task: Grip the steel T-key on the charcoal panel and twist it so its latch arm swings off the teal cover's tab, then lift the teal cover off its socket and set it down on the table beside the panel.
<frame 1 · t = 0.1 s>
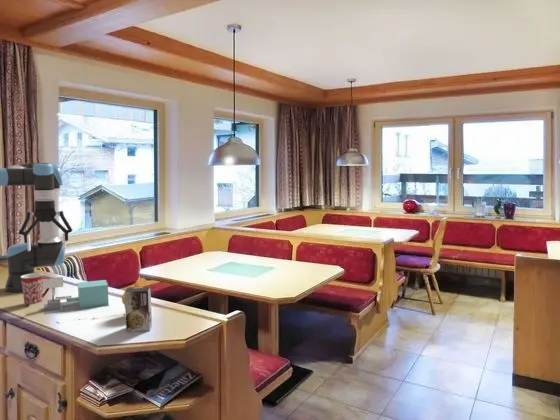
hand: (47, 249, 194), 28 cm above the table, tool pointing down, fingers open, 13 cm apart
cookie box: (139, 329, 178), on the table
key: (57, 288, 199), point 10 cm above the table, hinge at 0.0°
housing: (76, 307, 203), on the table
mug: (37, 303, 210), on the table
plant pot: (135, 316, 193), on the table
cover: (93, 303, 206), point 1 cm above the table, touching housing
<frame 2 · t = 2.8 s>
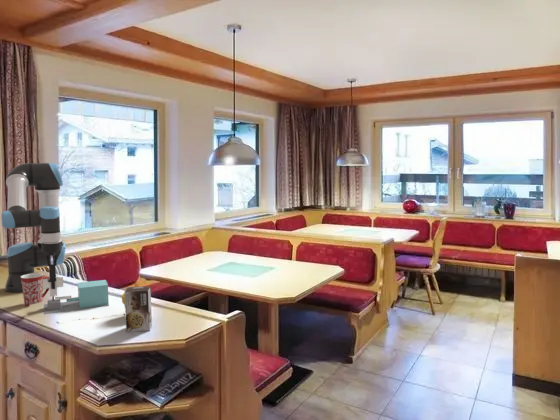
hand: (53, 295, 199), 7 cm above the table, tool pointing down, fingers closed on key, 2 cm apart
key: (57, 288, 199), point 10 cm above the table, hinge at 0.0°, touching gripper
everything else where it was.
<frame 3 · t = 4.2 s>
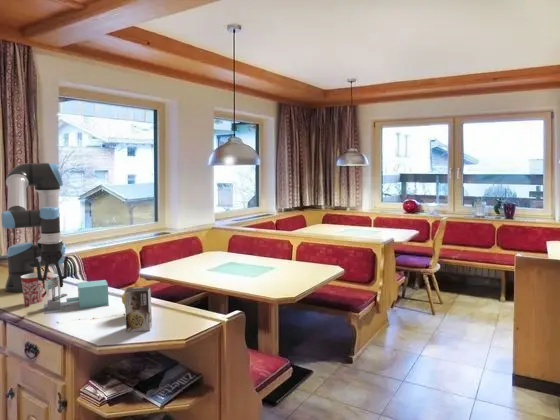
hand: (53, 294, 199), 7 cm above the table, tool pointing down, fingers closed on key, 4 cm apart
key: (55, 288, 200), point 10 cm above the table, hinge at 48.5°, touching gripper
everything else where it was.
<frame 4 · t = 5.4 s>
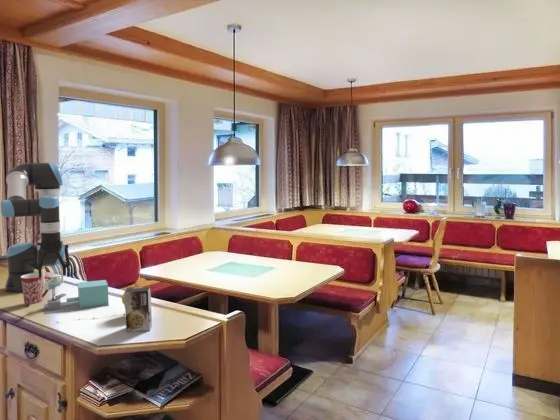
hand: (53, 283, 199), 12 cm above the table, tool pointing down, fingers open, 7 cm apart
key: (55, 288, 200), point 10 cm above the table, hinge at 53.4°
everything else where it was.
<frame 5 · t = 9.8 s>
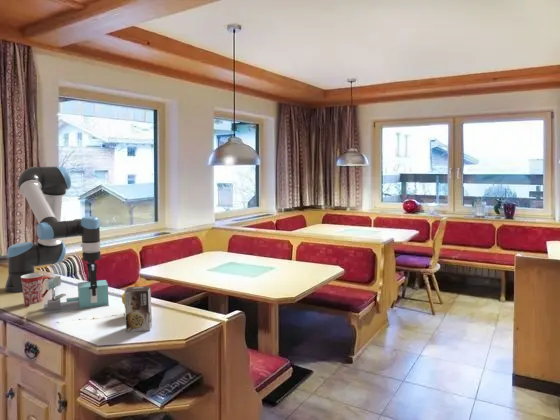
hand: (93, 299, 206), 3 cm above the table, tool pointing down, fingers closed on cover, 10 cm apart
key: (55, 288, 200), point 10 cm above the table, hinge at 54.1°
cover: (93, 303, 206), point 1 cm above the table, touching gripper, housing
everything else where it was.
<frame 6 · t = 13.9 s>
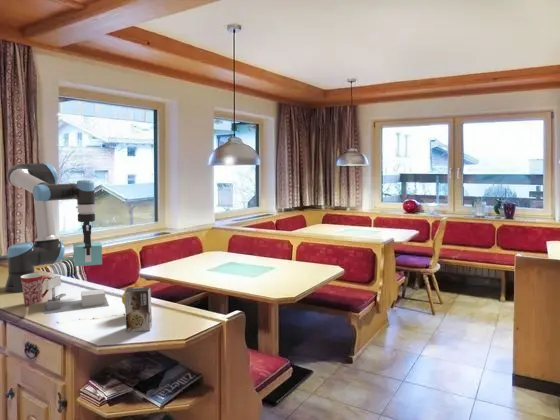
hand: (87, 259, 216), 19 cm above the table, tool pointing down, fingers closed on cover, 10 cm apart
cover: (87, 263, 216), point 17 cm above the table, touching gripper
everything else where it was.
when the fingers open (3 cm above the table, at t = 18.0 s): cover drops 1 cm, on the table.
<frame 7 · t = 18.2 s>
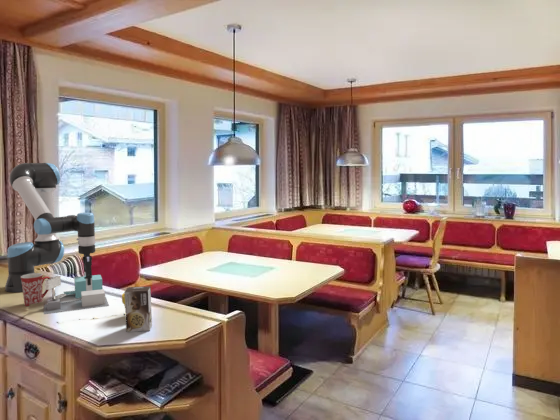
hand: (88, 288, 221), 4 cm above the table, tool pointing down, fingers open, 12 cm apart
cover: (88, 296, 221), on the table
everything else where it was.
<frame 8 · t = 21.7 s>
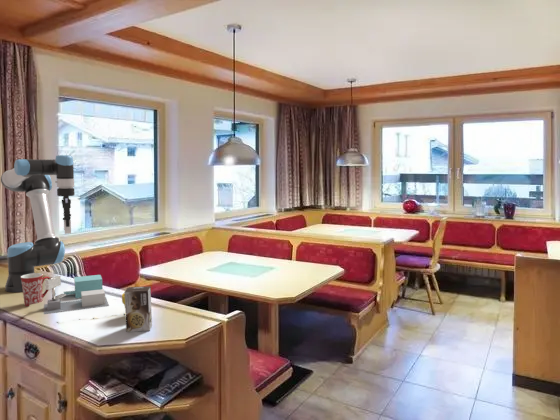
hand: (67, 231, 219), 32 cm above the table, tool pointing down, fingers open, 13 cm apart
nothing on the table moved.
at the end: key at +54° (first picture: +0°); cover inside the target area (0.0 cm from its centre), on the table; cover tilted 0° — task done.
